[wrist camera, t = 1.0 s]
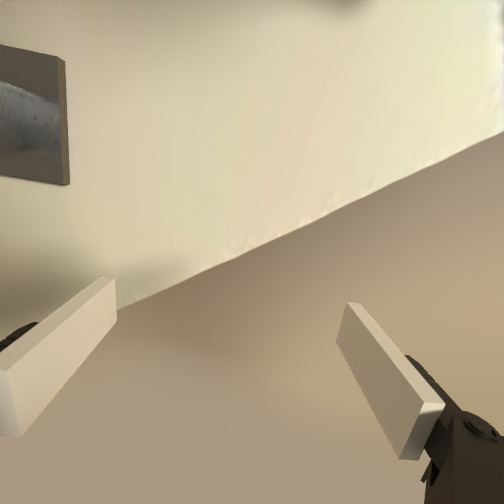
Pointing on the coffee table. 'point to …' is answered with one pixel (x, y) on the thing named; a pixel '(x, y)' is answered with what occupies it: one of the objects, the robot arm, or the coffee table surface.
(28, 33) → the coffee table surface
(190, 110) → the coffee table surface
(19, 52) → the stand base
